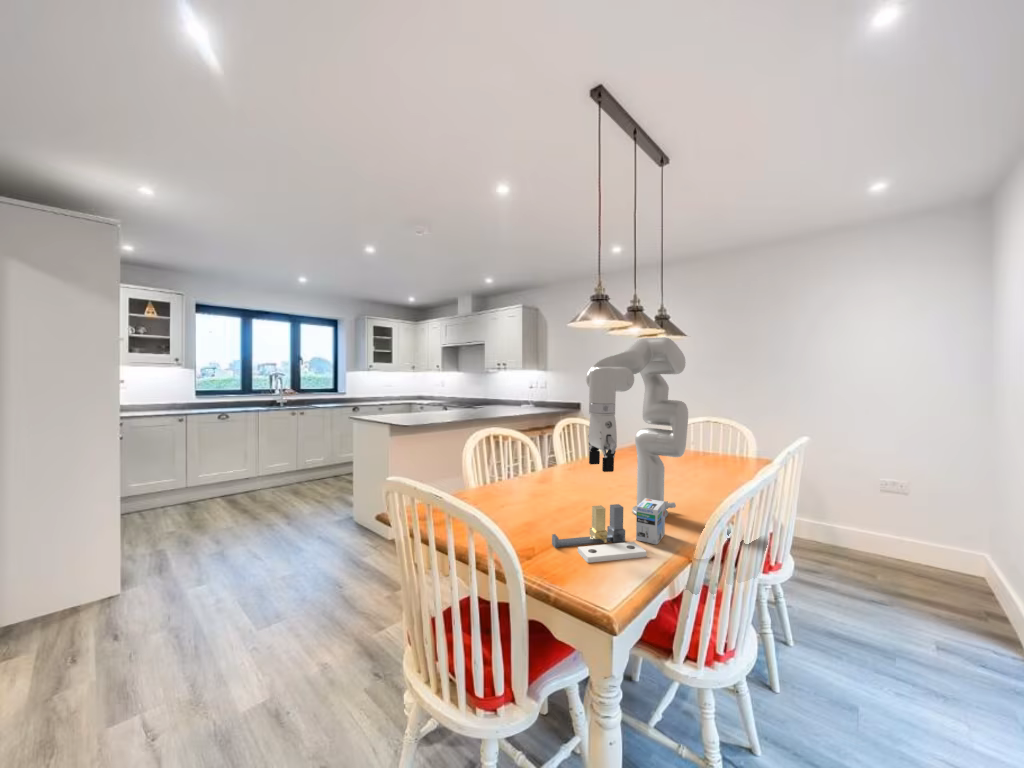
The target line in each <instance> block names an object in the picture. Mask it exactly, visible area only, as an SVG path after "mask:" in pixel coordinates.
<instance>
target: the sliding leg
mask: <svg viewBox="0 0 1024 768" xmlns="http://www.w3.org/2000/svg"><path fill="white" fill-rule="evenodd" d="M591 514H592V515H591V527H589V535H590V536H592V537H593V538H594V539H601V540H602V541H603V542H604V543H603V544H605V543H606V544H608V542H607V540H606V539H605V538H607V530H606V507H604V506H603V505H600V504H599V505H593V506H591Z"/></svg>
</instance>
